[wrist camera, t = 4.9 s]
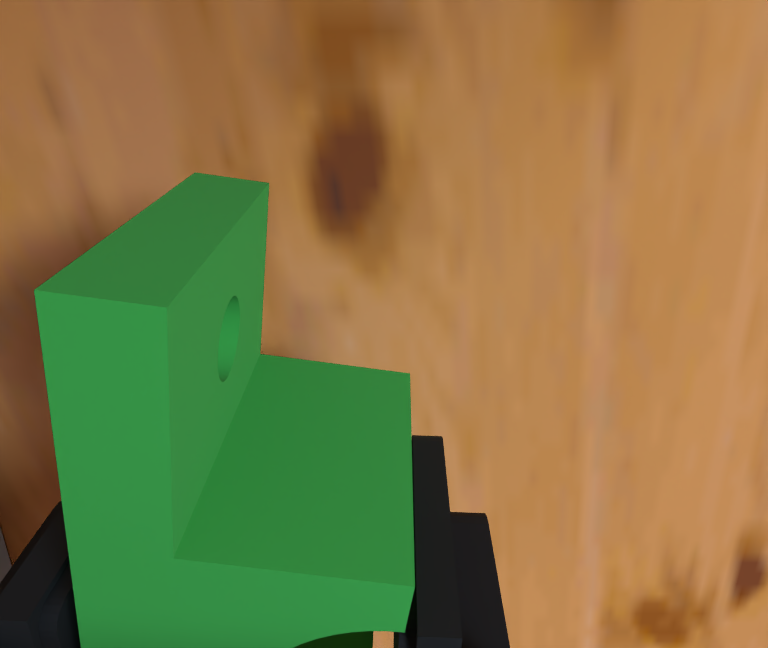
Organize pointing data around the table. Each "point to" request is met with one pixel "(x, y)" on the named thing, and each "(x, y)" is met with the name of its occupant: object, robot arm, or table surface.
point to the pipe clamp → (217, 446)
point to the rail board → (3, 558)
